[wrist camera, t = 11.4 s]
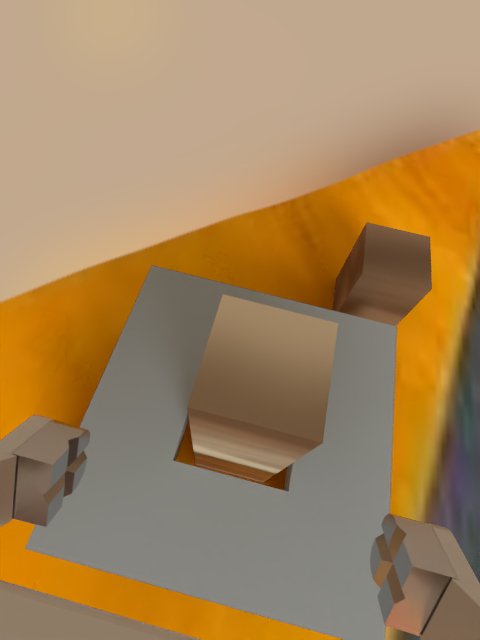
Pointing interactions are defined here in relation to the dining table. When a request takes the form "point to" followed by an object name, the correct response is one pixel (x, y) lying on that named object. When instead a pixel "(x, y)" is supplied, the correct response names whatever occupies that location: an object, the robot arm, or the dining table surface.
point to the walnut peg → (384, 275)
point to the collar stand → (227, 491)
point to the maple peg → (261, 389)
